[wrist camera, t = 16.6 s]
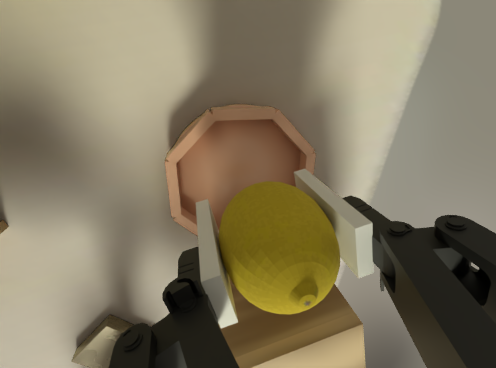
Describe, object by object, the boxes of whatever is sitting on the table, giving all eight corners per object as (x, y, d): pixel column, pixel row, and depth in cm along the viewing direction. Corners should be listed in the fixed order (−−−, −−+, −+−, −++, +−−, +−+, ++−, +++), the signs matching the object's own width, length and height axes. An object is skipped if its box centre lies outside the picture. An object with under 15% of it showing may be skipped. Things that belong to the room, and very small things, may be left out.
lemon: (193, 200, 16) (198, 308, 8) (267, 144, 15) (340, 207, 8) (245, 254, 18) (284, 375, 11) (311, 206, 18) (396, 299, 10)
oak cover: (208, 250, 23) (224, 378, 13) (291, 222, 24) (362, 324, 14) (233, 317, 27) (260, 453, 17) (304, 291, 28) (367, 407, 18)
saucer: (137, 181, 19) (131, 194, 17) (238, 69, 18) (245, 69, 16) (239, 252, 24) (244, 268, 22) (327, 168, 23) (340, 177, 21)
